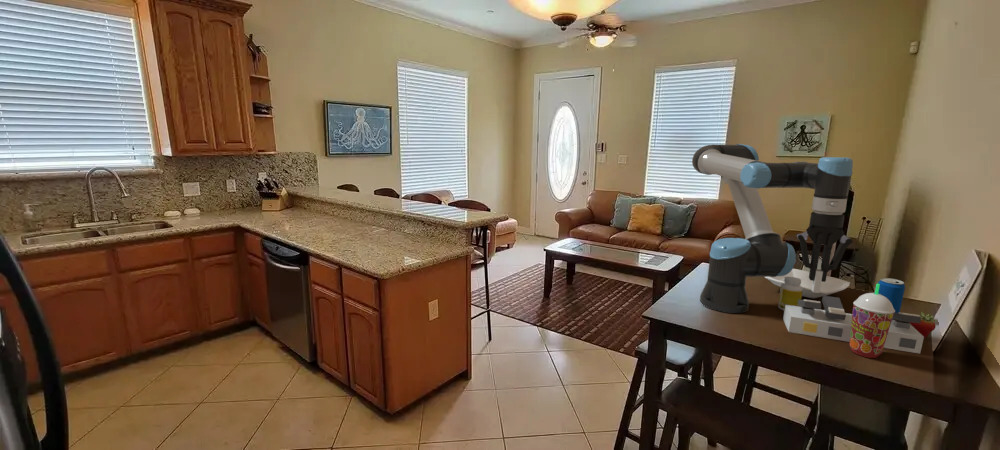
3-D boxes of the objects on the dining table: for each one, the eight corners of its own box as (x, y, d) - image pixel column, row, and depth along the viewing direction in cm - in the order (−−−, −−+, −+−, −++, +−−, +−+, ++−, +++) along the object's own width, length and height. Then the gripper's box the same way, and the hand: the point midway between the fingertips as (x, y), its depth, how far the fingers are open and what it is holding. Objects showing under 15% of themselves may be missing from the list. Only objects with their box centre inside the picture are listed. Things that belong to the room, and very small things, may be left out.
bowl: (785, 279, 172) (787, 266, 170) (854, 297, 152) (857, 282, 151) (756, 289, 160) (758, 275, 159) (827, 310, 141) (830, 295, 140)
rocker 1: (804, 307, 123) (804, 299, 123) (797, 305, 131) (798, 298, 131) (820, 309, 122) (821, 301, 122) (813, 307, 129) (813, 300, 129)
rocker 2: (827, 317, 122) (829, 311, 121) (821, 300, 128) (823, 294, 127) (844, 320, 120) (846, 314, 119) (837, 302, 127) (839, 296, 126)
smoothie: (836, 346, 117) (849, 279, 113) (864, 344, 118) (877, 278, 114) (864, 361, 109) (879, 290, 105) (893, 360, 110) (909, 289, 105)
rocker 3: (901, 320, 114) (901, 312, 114) (887, 317, 122) (888, 310, 122) (920, 323, 112) (921, 315, 112) (905, 320, 120) (906, 312, 120)
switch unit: (788, 332, 125) (792, 312, 124) (783, 319, 134) (785, 300, 133) (920, 354, 113) (925, 331, 111) (904, 337, 122) (908, 317, 120)
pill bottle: (803, 313, 139) (808, 282, 137) (784, 312, 139) (789, 281, 137) (792, 305, 145) (796, 275, 143) (773, 305, 145) (778, 275, 143)
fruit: (928, 343, 118) (934, 317, 117) (903, 336, 123) (909, 310, 121) (935, 339, 121) (941, 314, 119) (910, 332, 125) (916, 307, 124)
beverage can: (903, 320, 133) (911, 284, 131) (880, 318, 135) (887, 283, 132) (889, 311, 140) (896, 278, 137) (867, 310, 141) (874, 276, 138)
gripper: (802, 212, 117) (791, 292, 121) (861, 216, 111) (846, 299, 116) (797, 208, 123) (786, 284, 128) (852, 212, 118) (839, 290, 122)
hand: (815, 291), depth 122 cm, fingers closed
